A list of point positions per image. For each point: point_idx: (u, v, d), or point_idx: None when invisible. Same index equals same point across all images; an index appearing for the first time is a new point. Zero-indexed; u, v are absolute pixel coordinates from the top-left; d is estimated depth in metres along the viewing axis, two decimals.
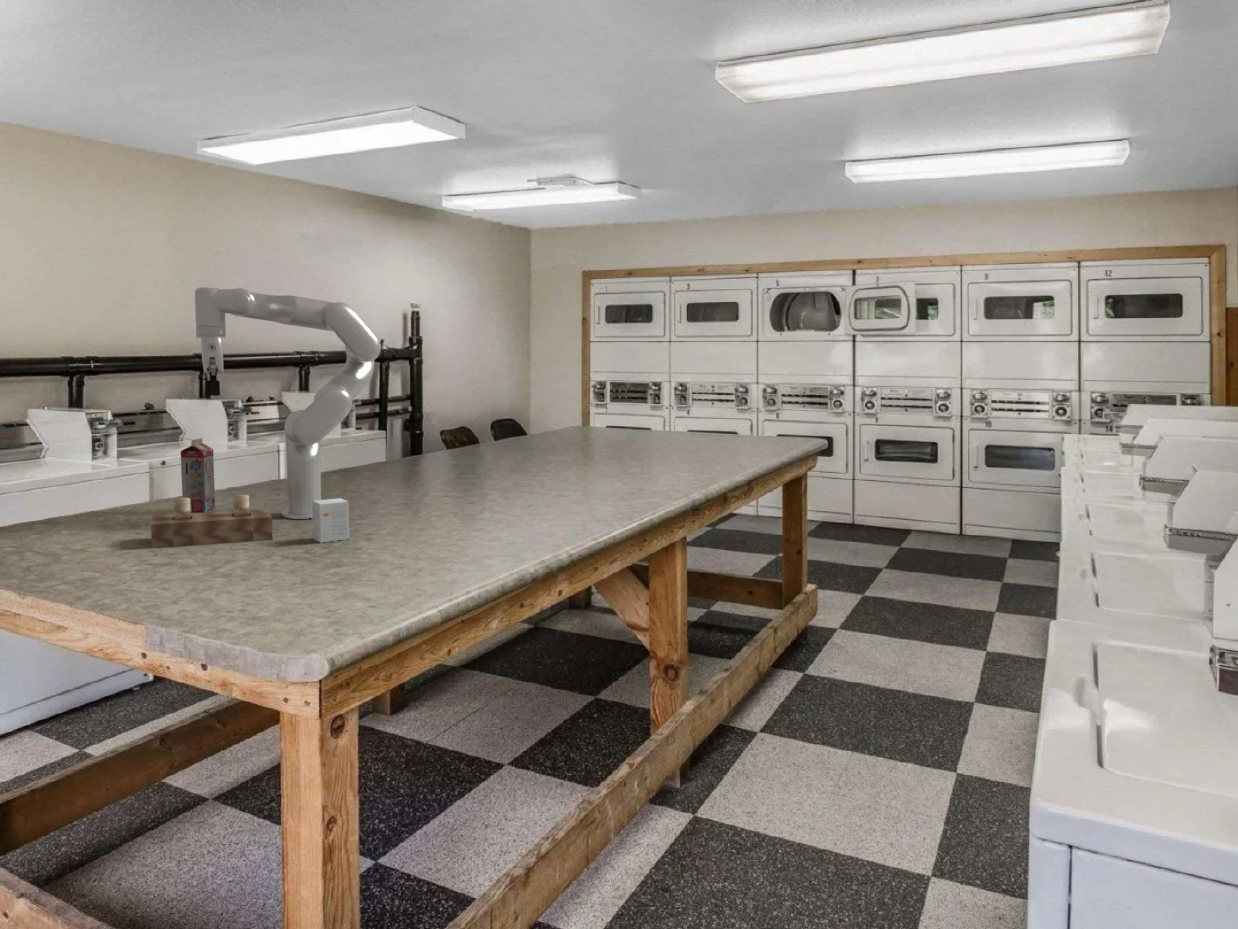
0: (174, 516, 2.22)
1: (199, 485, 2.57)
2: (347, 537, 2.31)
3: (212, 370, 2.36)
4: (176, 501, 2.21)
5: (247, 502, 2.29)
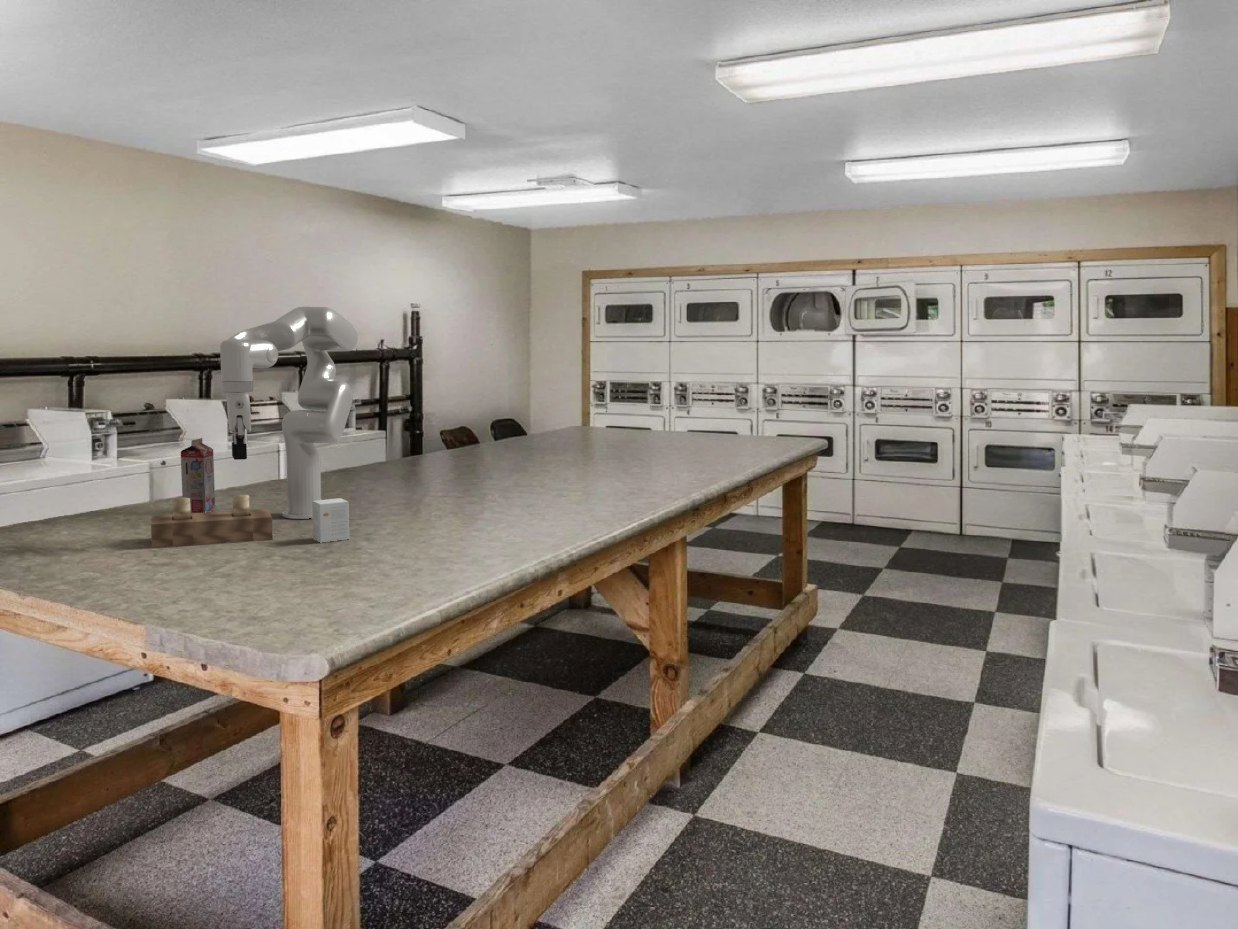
0: (174, 516, 2.22)
1: (199, 485, 2.57)
2: (347, 537, 2.31)
3: (239, 436, 2.22)
4: (176, 501, 2.21)
5: (247, 502, 2.29)
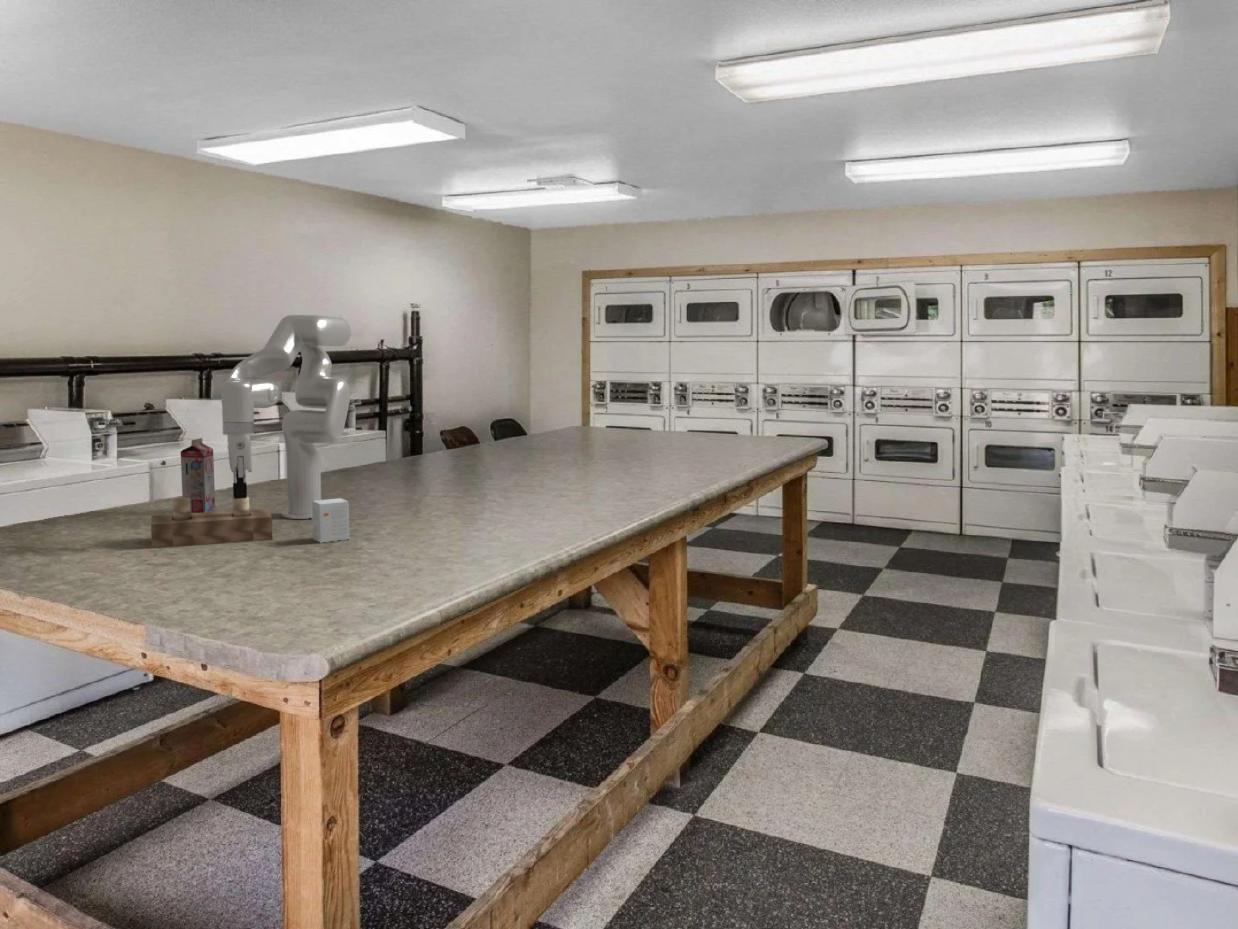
0: (174, 516, 2.22)
1: (199, 485, 2.57)
2: (347, 537, 2.31)
3: (240, 478, 2.25)
4: (176, 501, 2.21)
5: (247, 504, 2.29)
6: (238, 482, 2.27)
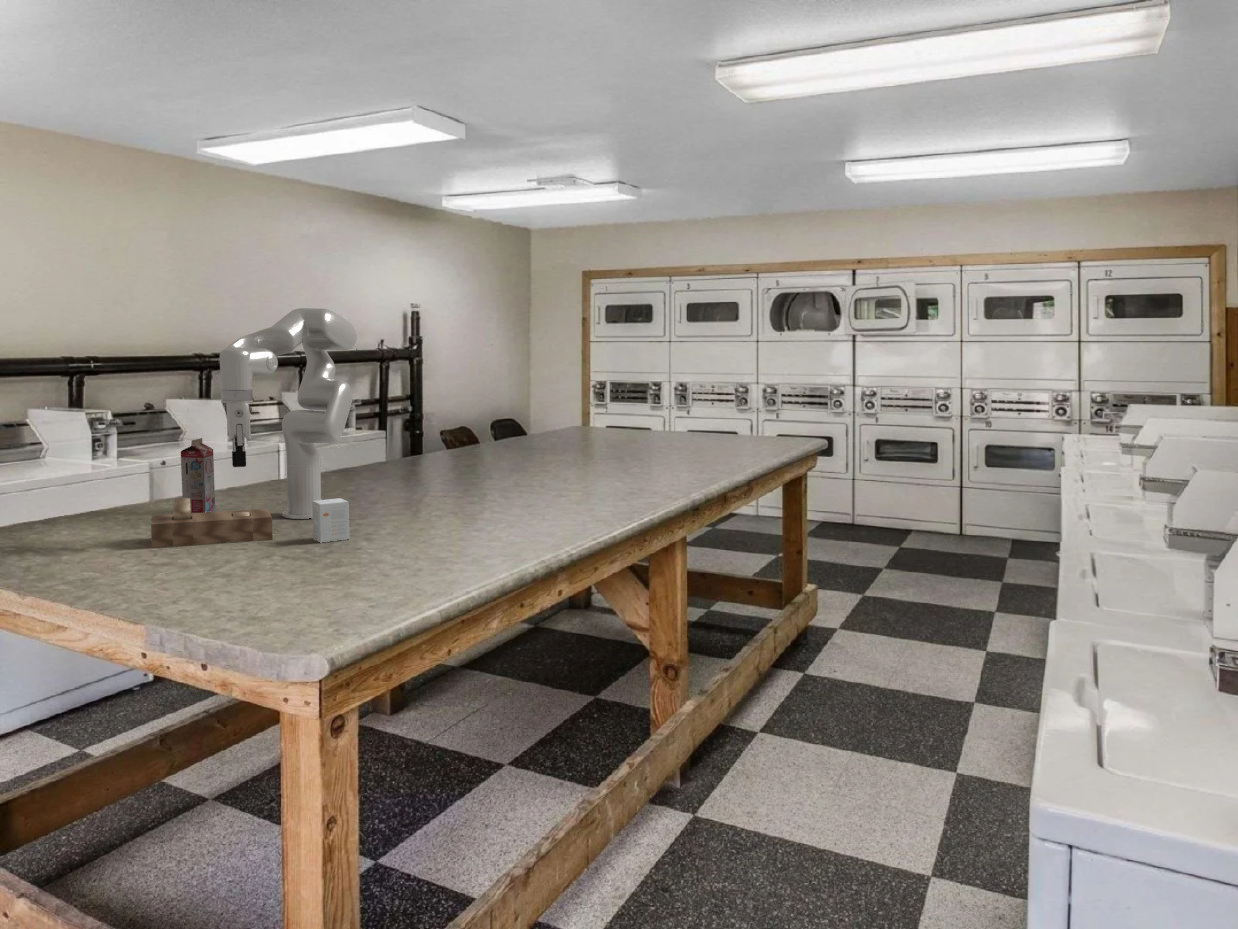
0: (174, 516, 2.22)
1: (199, 485, 2.57)
2: (347, 537, 2.31)
3: (239, 446, 2.24)
4: (176, 501, 2.21)
5: None
6: (237, 450, 2.26)
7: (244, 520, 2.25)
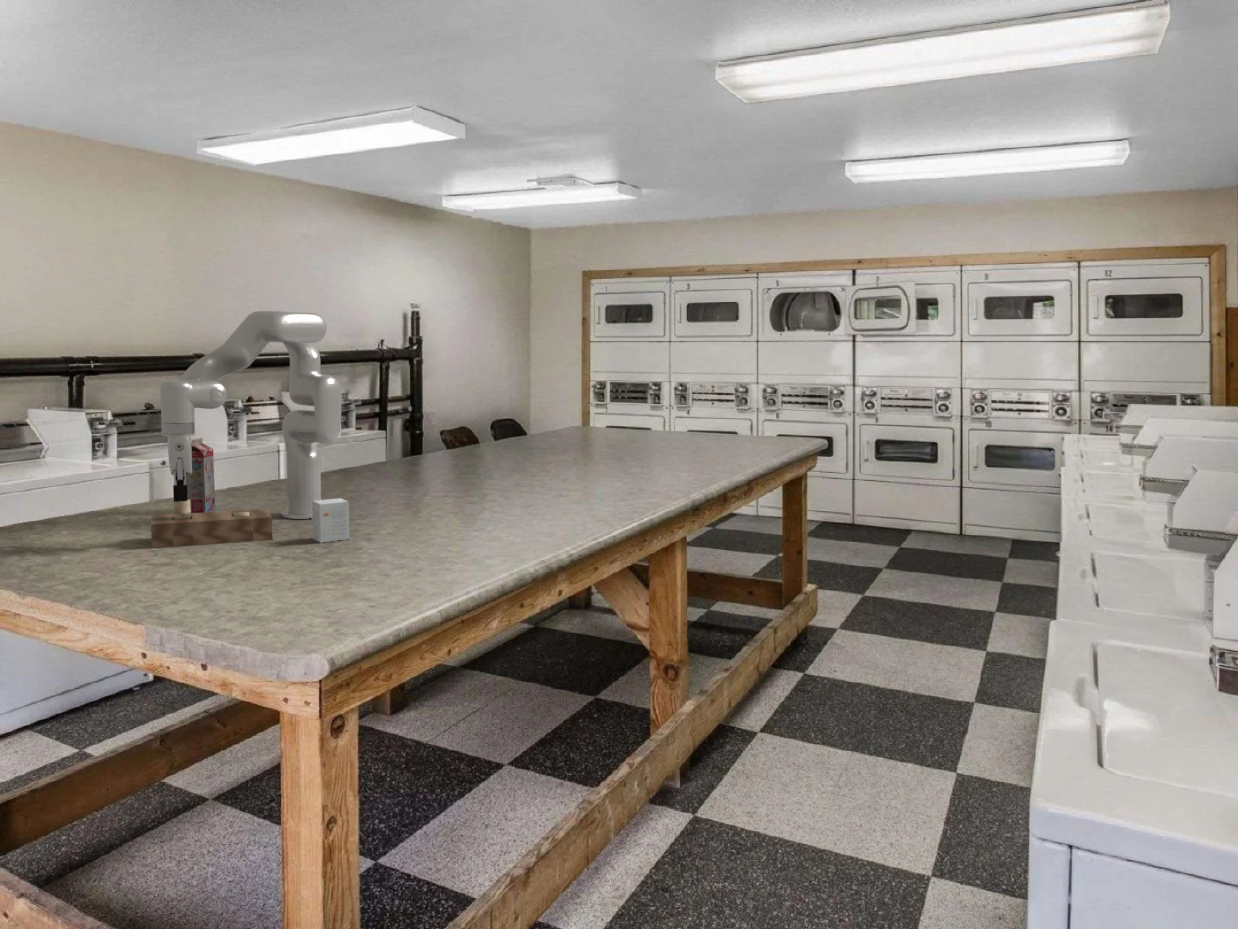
0: (174, 518, 2.22)
1: (199, 485, 2.57)
2: (347, 537, 2.31)
3: (179, 480, 2.18)
4: (176, 503, 2.21)
5: None
6: (178, 485, 2.20)
7: (244, 520, 2.25)
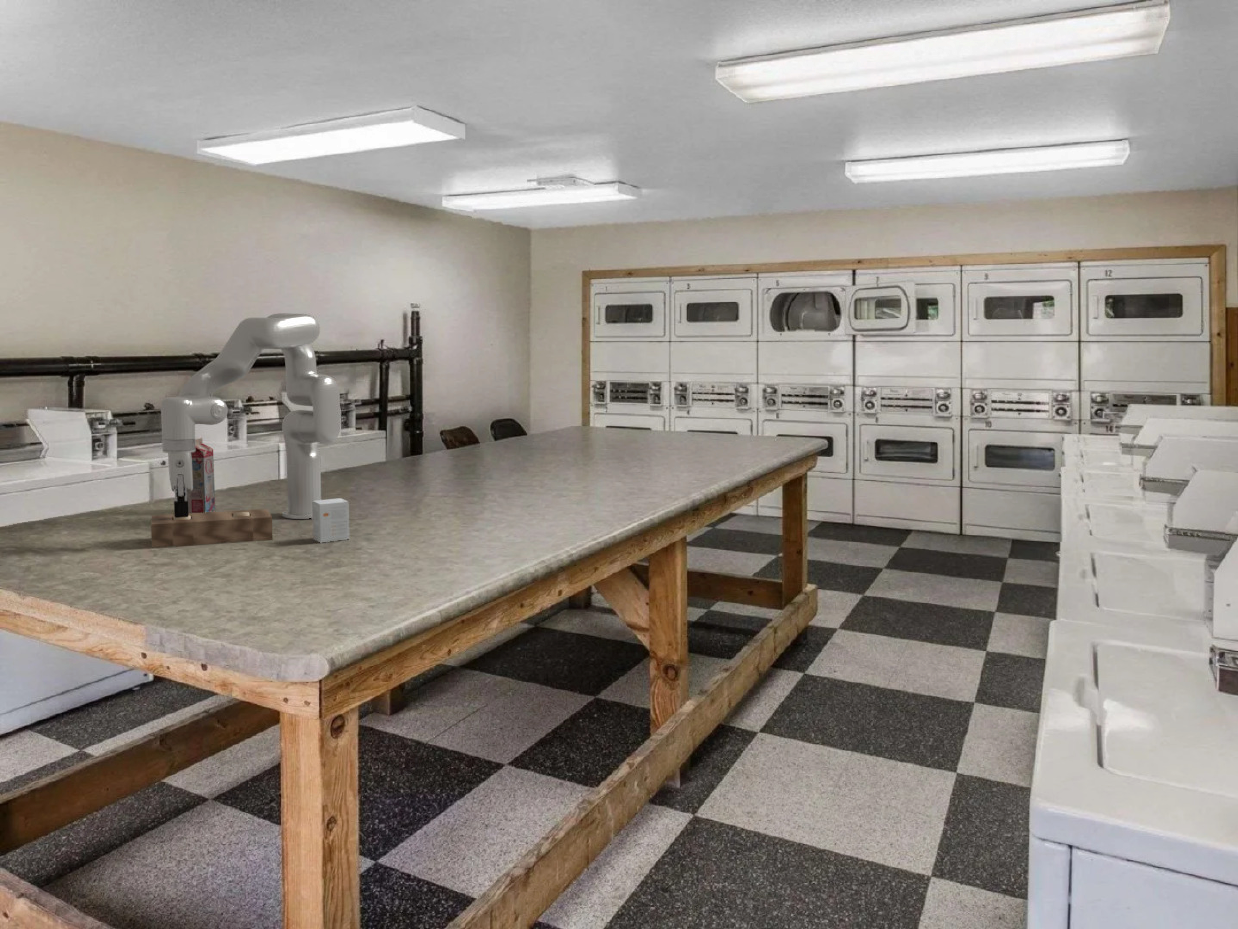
0: None
1: (199, 485, 2.57)
2: (347, 537, 2.31)
3: (180, 497, 2.19)
4: (177, 519, 2.21)
5: None
6: (179, 501, 2.21)
7: (244, 520, 2.25)
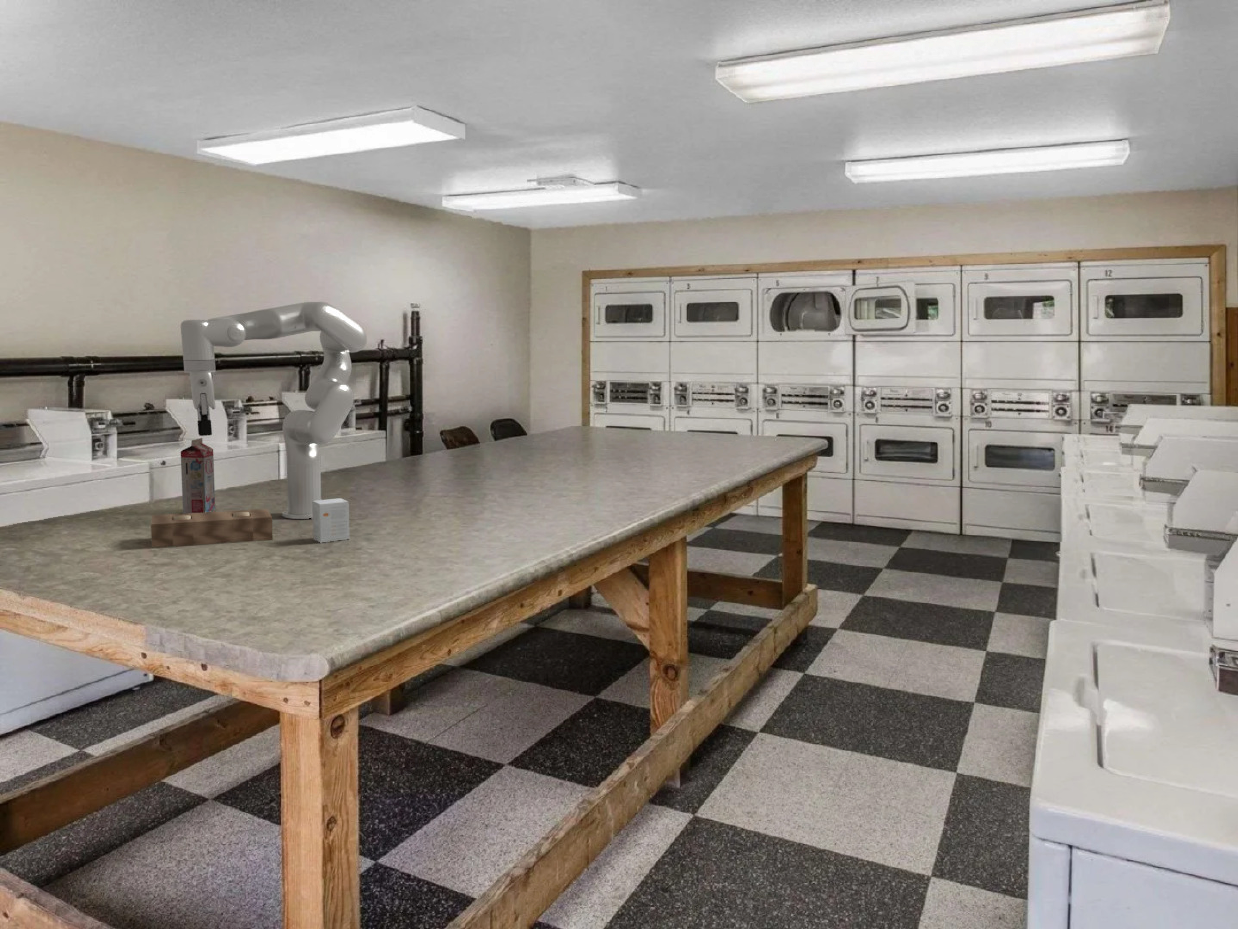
0: None
1: (199, 485, 2.57)
2: (347, 537, 2.31)
3: (204, 415, 2.29)
4: (177, 519, 2.21)
5: None
6: (202, 419, 2.31)
7: (244, 520, 2.25)
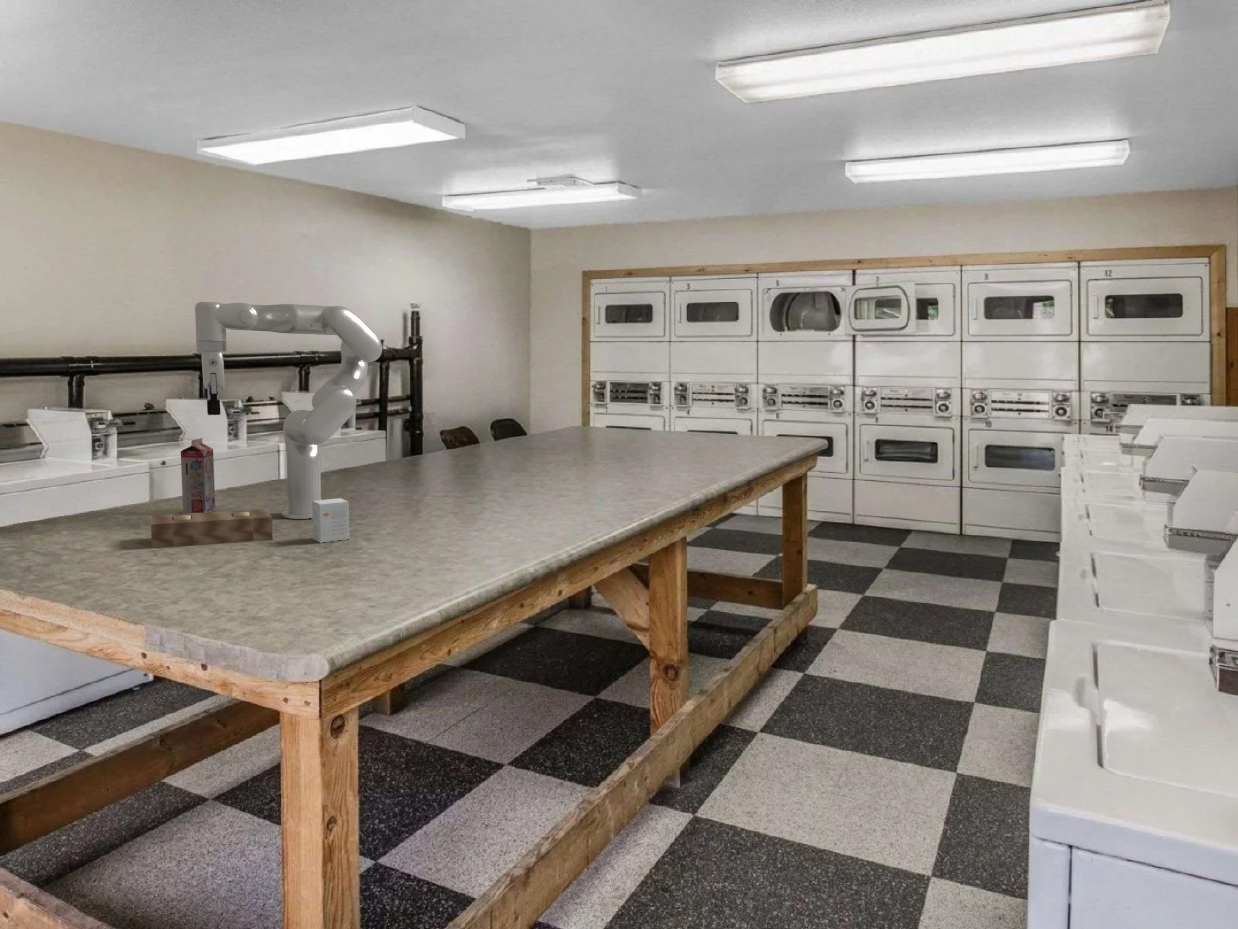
0: None
1: (199, 485, 2.57)
2: (347, 537, 2.31)
3: (213, 394, 2.35)
4: (177, 519, 2.21)
5: None
6: (212, 399, 2.38)
7: (244, 520, 2.25)
